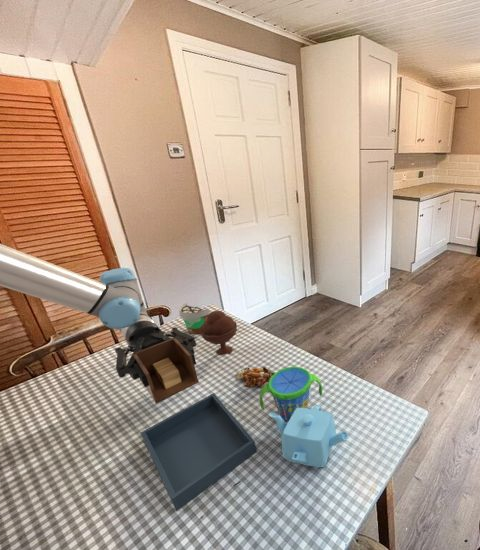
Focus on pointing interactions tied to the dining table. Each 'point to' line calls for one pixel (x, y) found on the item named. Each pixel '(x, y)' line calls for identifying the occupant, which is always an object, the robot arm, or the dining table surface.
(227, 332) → the ice cream bowl
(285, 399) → the snack cup
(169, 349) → the brown open box
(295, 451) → the teapot
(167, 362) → the block
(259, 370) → the pastry
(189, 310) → the food container
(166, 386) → the block
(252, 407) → the dining table surface
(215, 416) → the tray
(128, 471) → the dining table surface
